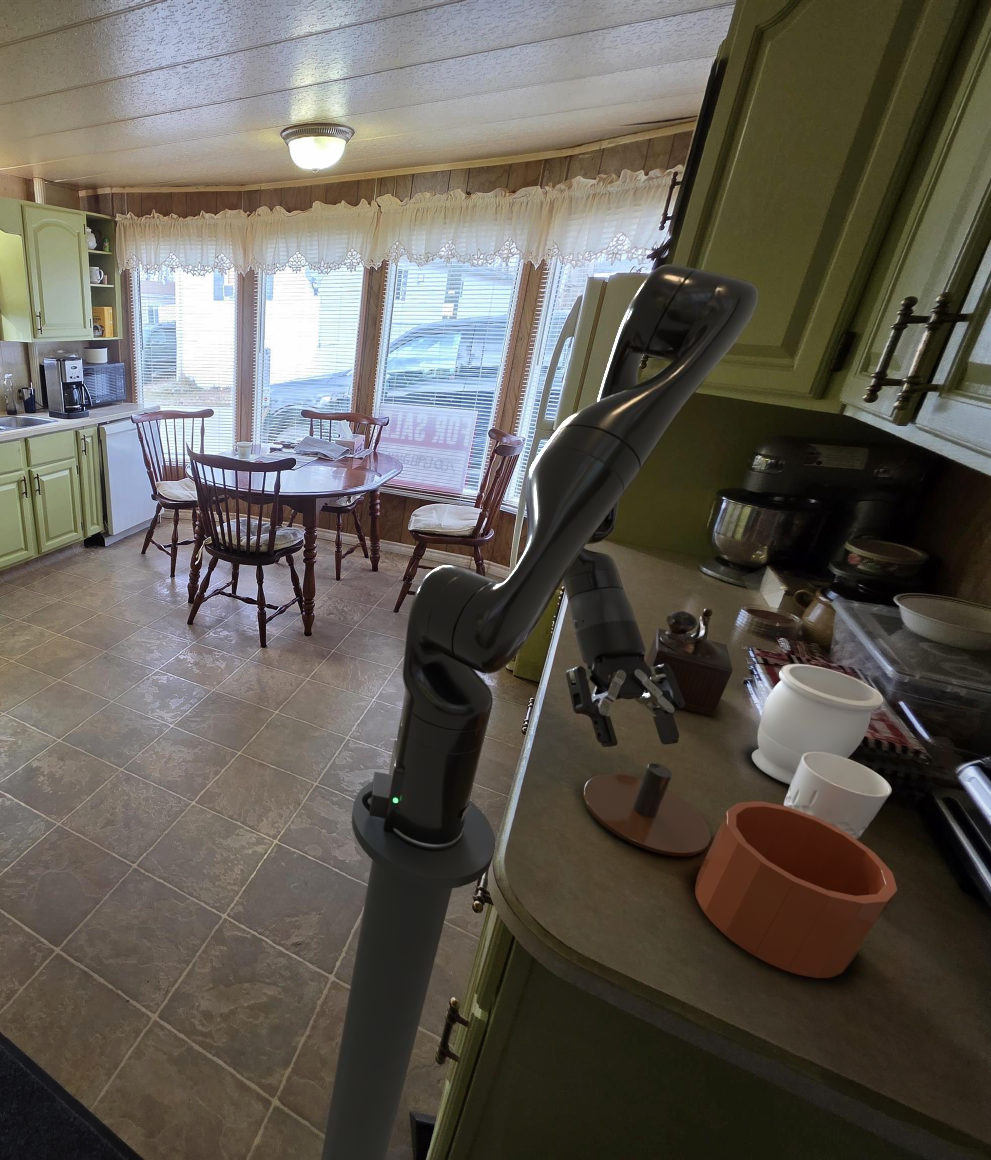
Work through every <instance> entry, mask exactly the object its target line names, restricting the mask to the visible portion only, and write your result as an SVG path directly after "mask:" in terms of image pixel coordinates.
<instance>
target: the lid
mask: <svg viewBox="0 0 991 1160" xmlns="http://www.w3.org/2000/svg"><path fill="white" fill-rule="evenodd" d="M672 777H673V772H672V771H671V769H669V768H668V767H666V766H664V765H662V764H659V763H648V764H647V766H646V769H645V773H644V774H643V777H642V778H639V777H636V776H631V775H627V774H626V775H625V774H621V773H619V774H618V773H606V774H605V773H603V774H599V775H596V776H593V777H592V778H590V779H589V780H587V782H586V783H585V785H584V787H583V790H582V797H583V801H584V804H585V806H586V807H587V809H588V811H589V812H590V814H591V815H592V816H593V817H594V818H595V819H596V820H597V821H598V822H599V823H600V824H601V825H602V826H603V827H605V828H606V829H607V830H609V831H610V832H611V833H612V834H614V835H616V836H617V837H619V838H621V839H622V840H624V841H626V842H628V843H630V844H632V845H634V846H637V847H639V848H641V849H644V850H647V851H650V852H653V853H657V854H660V855H665V856H671V857H691V856H695V855H698V854H700V853H702V852H704V851H705V850H706V849H707V847H708V846H709V844H710V841H711V830H710V827H709V826H708V823H707V822H706V820H705V818H704V817H703V816H702V815H701V814H700V813H699V812H698V811H697V810H696V809H695V808H694V807H693V806H692V805H691V804H690V803H688V802H687V801H686V800H684V799H683V798H682V797H680V796H679V795H677V794H675V793H674V792H672V791H670V790H668V788H669V785H670V783H671V780H672Z"/></svg>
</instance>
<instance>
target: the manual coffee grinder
mask: <svg viewBox="0 0 991 1160" xmlns="http://www.w3.org/2000/svg"><path fill="white" fill-rule="evenodd" d="M712 615H713V610H712V609H711V608H704V609H702V615H700V616H699V618H698V620H697V617H695V615H693V613H689V612H687V611H684V610H682V611H672V612H671V613H670V614H669V615H667V617H666V619H665V621H666V623H667V625H668V630H667V629H663V628H658V629H657V630H656V631H655V635H654V637H653V640H652V643H651V645H650V648H649V651H648V654H647V656H646V660H645V662H646V664H647V665H648V666H649V667H654V666H658V665H662V664H669V665H670V666H671V669H672V671H673V674H674V676H675V679H676V681H677V684H678V686H679V689H680V692H681V694H682V697H683V699H684V702H685V706H684V707H682V708H679V710H683V711H687V712H690V713H693V714H698V715H703V716H706V717H713V716H714V713H715V711H716V709H717V707H718V705H719V703H720V701H721V699H722V696H723V694H724V693H725V690H726V687H727V684H728V682H729V680H730V678H731V676H732V673H733V665H732V663H731V656H730V653H729V649H728V645H727V644H725V643H721V642H718V641H714V640H710V639H707V638H708V635H709V625H710V621H711V616H712ZM698 621H699V622H698ZM696 627H697V628H696ZM695 628H696V630H695V633H691V632H692V631H693V630H694V629H695ZM650 678H651V677H650ZM650 681H651V680H650ZM651 682H652V683H653V684H654V682H653V681H651ZM654 685H655V684H654ZM645 693H648V692H647V691H646V692H645ZM669 695H670V692H669ZM670 698H671V700H672V697H671V695H670Z"/></svg>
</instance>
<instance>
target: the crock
mask: <svg viewBox="0 0 991 1160" xmlns="http://www.w3.org/2000/svg"><path fill="white" fill-rule="evenodd" d="M897 892H898V887H897V884H896V879H895V876H894V873H893V872H892V870H891V869H890V868H889V867H888V866H887V865H886V864H885V862H884V861H882V859H881V858H880V857H879V856H878V855H877V853H875V852H874V851H873V850H872V849H870V848H869V847H868V846H866V845H864V844H863V843H862V842H861V841H859V840H858V839H855V838H854V837H852V836H851V835H849V834H848V833H846V832H844V831H842V830H840V829H838V828H837V827H835V826H833V825H831V824H829V823H827V822H825V821H823V820H821V819H819V818H817V817H815V816H812V815H809V814H806V813H804V812H801V811H798V810H795V809H792V808H790V807H787V806H784V804H783V805H782V804H776V803H773V802H766V801H760V800H754V801H741V802H737V803H735V804H734V805H733V806H731V807H730V808H729V809H727V810H726V812H725V814H724V817H723V819H722V821H721V823H720V826H719V828H718V830H717V832H716V835H715V836H714V838H713V841H712V843H711V845H710V847H709V849H708V851H707V854H706V856H705V858H704V859H703V863H702V865H701V867H700V869H699V871H698V874H697V875H696V881H695V884H694V893H695V898H696V900H697V902H698V905H699V907H700V908H701V910H702V912H703V913H704V915H705V916H706V917H707V918H708V920H709V921H710V922H711V923H712V924H713V925H714V926H715V927H716V928H717V930H719V931H720V932H721V933H722V934H723V935H724V936H726V938H728V940H731V942H733V943H734V944H736V945H737V946H738V947H739V948H741V949H743V950H744V951H746V952H747V953H749V954H750V955H752V956H754V957H755V958H757V959H759V960H761V961H763V962H765V963H767V964H769V965H771V966H774V967H776V968H778V969H780V970H783V971H786V972H789V973H791V974H795V975H799V976H802V977H807V978H812V979H813V978H815V979H830V978H834V977H837V976H839V975H841V974H842V973H844V972H845V971H846V969H847V968H848V966H850V965H851V963H852V962H853V960H854V959H855V958H856V956H857V955H858V953H859V951H860V949H861V948H862V946H863V945H864V943H865V942H866V940H867V938H868V937H869V935H870V934H871V933H872V931H873V929H874V927H875V926H876V925H877V923H878V922H879V920H880V918H881V917H882V915H883V914H884V912H885V911H886V909H887V908H888V906H889V904H890V903H891V901H892V900H893V899H894V897H895V895H896V893H897Z"/></svg>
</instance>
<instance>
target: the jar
mask: <svg viewBox="0 0 991 1160" xmlns="http://www.w3.org/2000/svg"><path fill="white" fill-rule="evenodd" d="M778 676H779V679H780V680H779V681H778V682H777V684H776V685H774V687H773V689H772V690H771V692H770V693H769V695H768V696H767V699H766V700H765V702H764V704H763V707H762V711H761V715H760V721H759V722H760V723H759V726H758V730H757V738H756V739H757V745H758V746H757V747H758V748H757V749H755V750H753V752H752V754H751V760H752V761H753V763H754V764H755V766H756V767H757V768H758V769H759V770H761V771H762V772H764V773H765V774H767V775H768V776H770V777H772V778H773V779H775V780H777V781H780V782H782V783H784V784H787V785H789V786H790V785H791V782H792V780H793V778H794V775H795V773H796V770H797V768H798V766H799V763H800V761H801V758H802V756H803V755H804V754H805V753H808V752H824V753H829V754H834V755H838V756H841V757H844V758H847V759H849V757H850V756H851V755H852V754H853V753H854V752H855V751H856V750H857V748H858V747H859V746H860V744H861V743H862V742H863V740H864V738H865V736H866V734H867V732H868V729H869V727H870V726H869V725H870V723H871V718H872V711H875V710H878V708H880V707H881V705H882V703H883V701H884V697H883V696H882V694H881V693H880V692H879V691H878V690H876V688H873V687H872V686H870V685H869V684H867V683H866V682H864V681H862V680H860V679H857V678H855V677H853V676H850V675H848V674H845V673H842V672H839V671H837V670H833V669H829V668H825V667H821V666H817V665H811V664H805V663H804V664H803V663H789V664H785V665H783V666H782V667H781V668H780V670H779V673H778Z"/></svg>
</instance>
